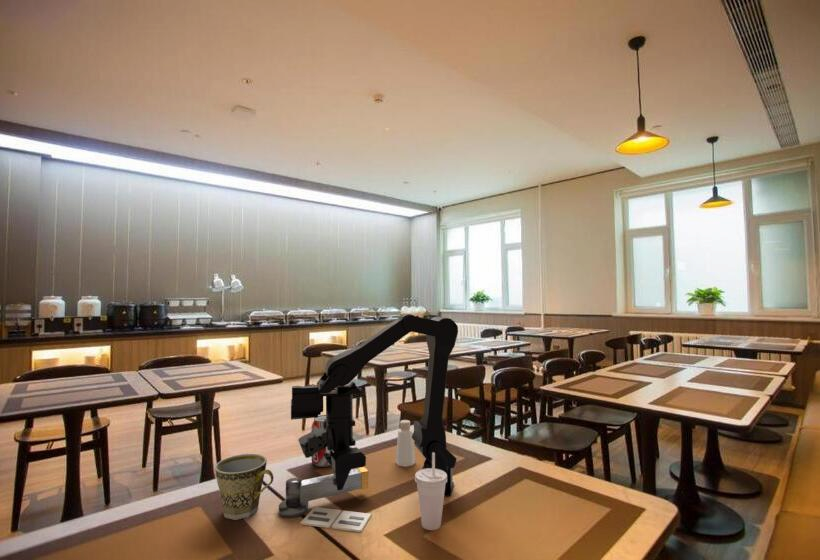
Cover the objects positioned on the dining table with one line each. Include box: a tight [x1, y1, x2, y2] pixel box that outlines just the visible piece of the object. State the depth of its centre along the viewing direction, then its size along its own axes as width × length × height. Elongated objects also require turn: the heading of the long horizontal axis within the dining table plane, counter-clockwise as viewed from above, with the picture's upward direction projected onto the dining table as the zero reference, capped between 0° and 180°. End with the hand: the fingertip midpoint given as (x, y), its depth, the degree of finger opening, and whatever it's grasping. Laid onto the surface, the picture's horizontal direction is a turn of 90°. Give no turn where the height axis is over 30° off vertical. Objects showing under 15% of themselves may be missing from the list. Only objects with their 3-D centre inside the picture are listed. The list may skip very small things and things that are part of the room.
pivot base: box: [278, 499, 309, 519], centre depth 87 cm, size 6×6×1 cm
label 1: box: [300, 506, 342, 529], centre depth 84 cm, size 6×6×1 cm
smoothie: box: [414, 452, 447, 531], centre depth 81 cm, size 6×6×14 cm
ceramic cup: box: [214, 453, 274, 521], centre depth 86 cm, size 13×10×10 cm
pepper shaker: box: [394, 419, 416, 468], centre depth 111 cm, size 5×5×11 cm
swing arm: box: [285, 466, 369, 507], centre depth 90 cm, size 18×3×4 cm, turn 118°
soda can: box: [310, 414, 332, 468], centre depth 111 cm, size 7×7×12 cm
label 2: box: [331, 510, 372, 533], centre depth 82 cm, size 6×6×1 cm
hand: (339, 489), depth 89 cm, fingers closed
